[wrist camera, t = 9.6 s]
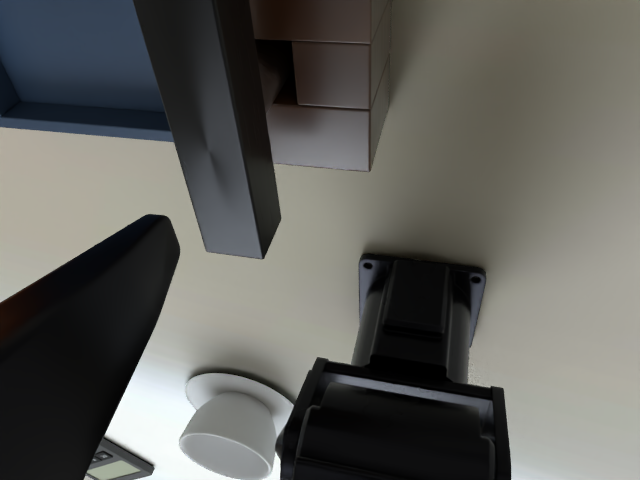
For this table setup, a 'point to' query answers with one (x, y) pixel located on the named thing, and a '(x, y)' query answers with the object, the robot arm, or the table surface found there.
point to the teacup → (233, 425)
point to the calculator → (117, 464)
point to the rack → (328, 80)
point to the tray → (78, 70)
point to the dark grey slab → (220, 114)
